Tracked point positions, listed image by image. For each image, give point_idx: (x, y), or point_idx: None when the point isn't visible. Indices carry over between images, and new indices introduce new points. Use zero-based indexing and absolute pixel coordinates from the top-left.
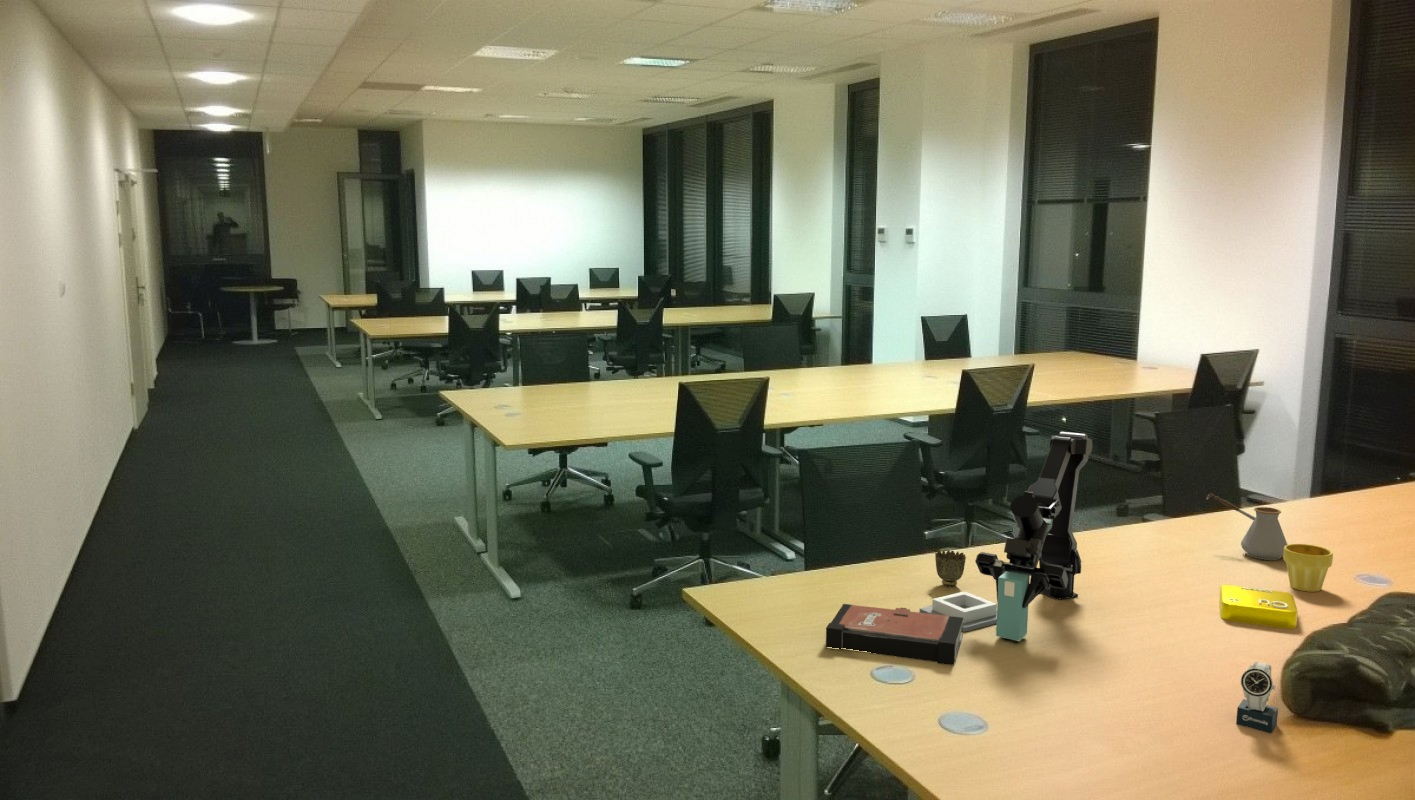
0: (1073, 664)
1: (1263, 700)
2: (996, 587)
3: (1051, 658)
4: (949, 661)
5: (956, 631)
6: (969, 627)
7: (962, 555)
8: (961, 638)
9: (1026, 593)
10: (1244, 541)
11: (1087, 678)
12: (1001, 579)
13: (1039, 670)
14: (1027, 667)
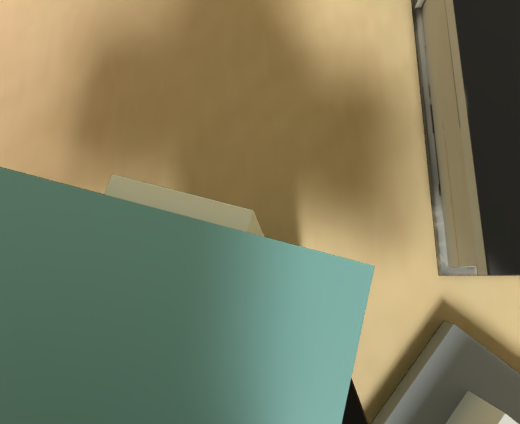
0: (31, 133)
1: None
2: (364, 416)
3: (97, 159)
4: None
5: (475, 69)
6: (431, 350)
7: None
8: (437, 226)
9: None
10: None
11: (4, 41)
12: (311, 252)
13: (141, 47)
14: (178, 56)
